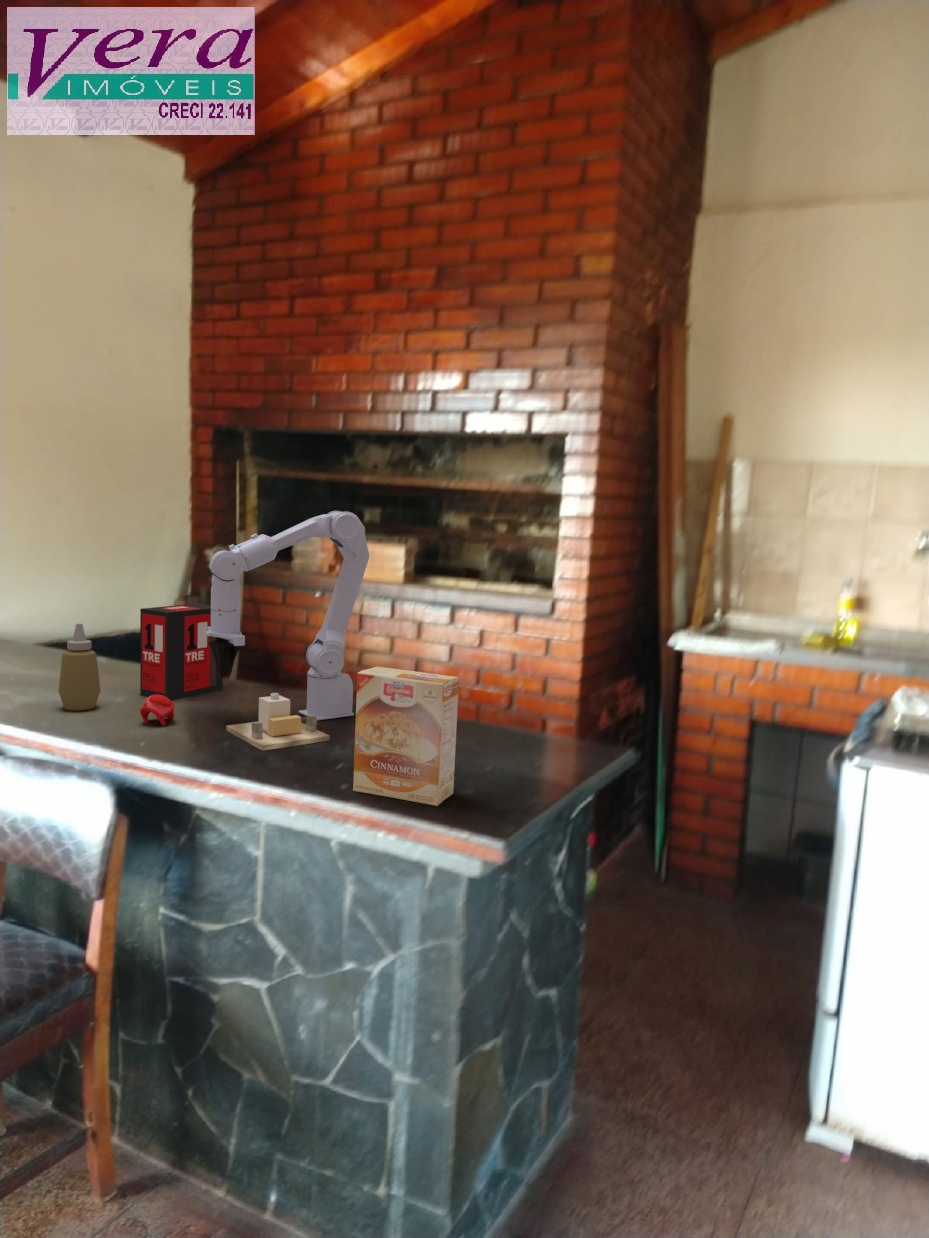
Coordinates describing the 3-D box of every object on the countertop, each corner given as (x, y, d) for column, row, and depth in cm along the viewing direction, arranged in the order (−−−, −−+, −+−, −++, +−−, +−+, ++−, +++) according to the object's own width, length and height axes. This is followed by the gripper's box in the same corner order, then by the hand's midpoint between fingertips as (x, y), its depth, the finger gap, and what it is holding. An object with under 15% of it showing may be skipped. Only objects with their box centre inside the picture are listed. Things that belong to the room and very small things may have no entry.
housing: (279, 724, 170) (280, 690, 169) (289, 729, 167) (290, 694, 166) (258, 727, 168) (259, 692, 167) (268, 732, 164) (269, 697, 163)
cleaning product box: (196, 684, 208) (196, 603, 205) (222, 689, 204) (223, 607, 201) (140, 695, 194) (140, 608, 191) (167, 701, 189) (167, 612, 187)
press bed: (290, 722, 177) (290, 703, 176) (329, 740, 165) (329, 720, 164) (226, 730, 168) (226, 710, 168) (262, 750, 156) (263, 729, 155)
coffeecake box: (351, 791, 136) (355, 671, 134) (371, 779, 143) (376, 665, 140) (437, 807, 131) (443, 683, 129) (454, 793, 138) (460, 675, 135)
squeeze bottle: (49, 709, 177) (48, 624, 175) (80, 702, 185) (79, 620, 183) (79, 714, 175) (78, 628, 172) (109, 707, 182) (108, 623, 180)
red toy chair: (162, 713, 166) (180, 693, 170) (135, 701, 167) (155, 681, 171) (163, 738, 171) (181, 718, 176) (138, 726, 172) (157, 706, 177)
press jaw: (296, 729, 167) (296, 715, 166) (301, 732, 165) (301, 717, 165) (267, 733, 163) (268, 718, 162) (272, 736, 161) (273, 720, 161)
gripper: (192, 606, 176) (191, 670, 178) (221, 615, 165) (220, 683, 167) (224, 605, 181) (224, 667, 182) (255, 613, 169) (253, 680, 171)
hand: (224, 675), depth 175 cm, fingers closed
